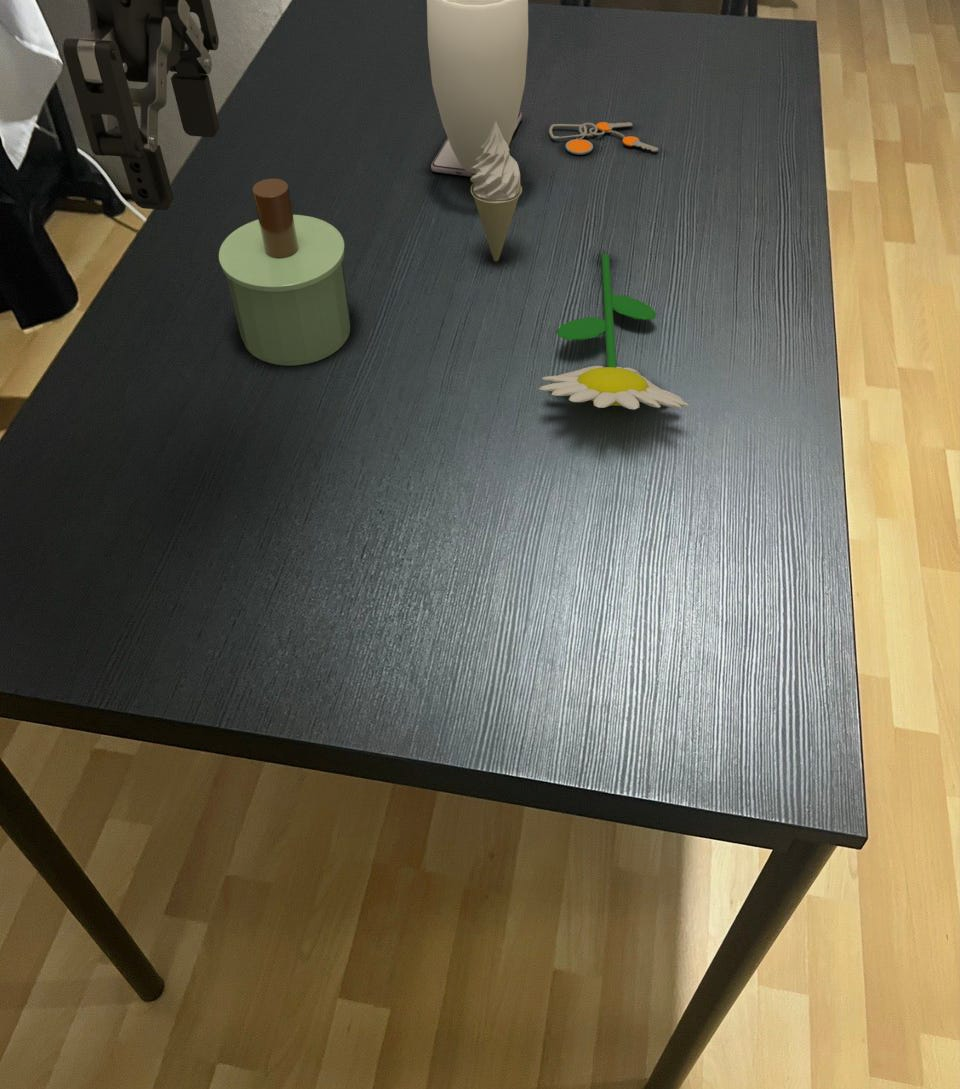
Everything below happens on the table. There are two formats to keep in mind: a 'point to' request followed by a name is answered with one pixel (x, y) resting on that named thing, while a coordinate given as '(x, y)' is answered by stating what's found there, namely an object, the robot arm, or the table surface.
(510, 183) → the ice cream cone
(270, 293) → the tin
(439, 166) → the smartphone
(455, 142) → the cream vase
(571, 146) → the key chain
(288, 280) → the lid
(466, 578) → the table surface
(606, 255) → the decorative flower
